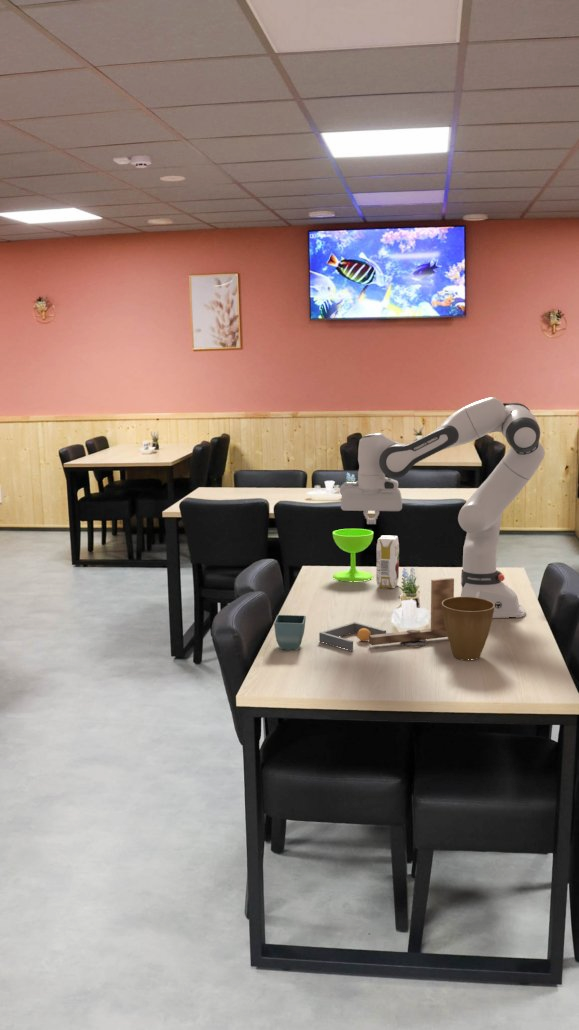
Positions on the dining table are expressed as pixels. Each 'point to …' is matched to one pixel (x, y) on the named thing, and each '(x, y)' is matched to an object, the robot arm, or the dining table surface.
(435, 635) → the lever
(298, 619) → the flower pot
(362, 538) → the wineglass
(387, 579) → the juice carton
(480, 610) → the plant pot
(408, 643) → the pivot base
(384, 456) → the robot arm
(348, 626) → the corral
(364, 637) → the ball
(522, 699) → the dining table surface
